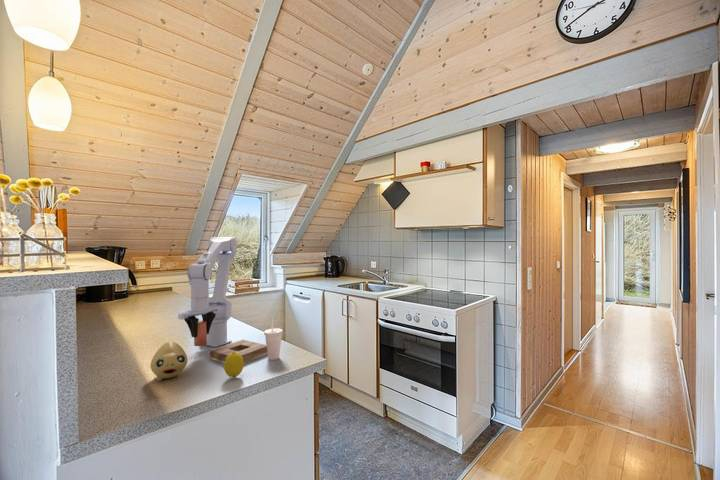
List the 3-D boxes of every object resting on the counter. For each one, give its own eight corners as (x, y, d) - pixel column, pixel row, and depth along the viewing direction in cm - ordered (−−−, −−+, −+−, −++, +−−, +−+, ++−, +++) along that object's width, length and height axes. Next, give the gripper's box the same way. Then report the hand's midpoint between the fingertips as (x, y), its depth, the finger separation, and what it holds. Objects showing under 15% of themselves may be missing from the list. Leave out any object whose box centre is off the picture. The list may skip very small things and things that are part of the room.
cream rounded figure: (150, 390, 91) (149, 352, 91) (150, 375, 101) (150, 341, 101) (189, 381, 96) (189, 345, 96) (186, 368, 106) (186, 335, 106)
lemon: (232, 383, 95) (231, 356, 94) (220, 379, 97) (220, 352, 97) (247, 376, 99) (247, 350, 99) (236, 372, 102) (235, 347, 102)
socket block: (209, 358, 114) (209, 350, 114) (242, 347, 126) (242, 339, 126) (235, 366, 107) (235, 357, 107) (268, 353, 119) (268, 345, 119)
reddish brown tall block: (191, 345, 115) (191, 322, 115) (202, 341, 118) (202, 320, 118) (198, 347, 113) (198, 324, 113) (209, 343, 116) (208, 321, 116)
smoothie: (260, 359, 113) (260, 319, 113) (273, 353, 119) (272, 315, 119) (274, 362, 110) (273, 321, 110) (286, 356, 116) (286, 317, 116)
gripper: (186, 301, 107) (186, 342, 107) (224, 295, 120) (225, 331, 120) (174, 299, 111) (175, 339, 111) (213, 293, 123) (213, 329, 123)
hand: (200, 335), depth 116 cm, fingers closed on reddish brown tall block, 4 cm apart
